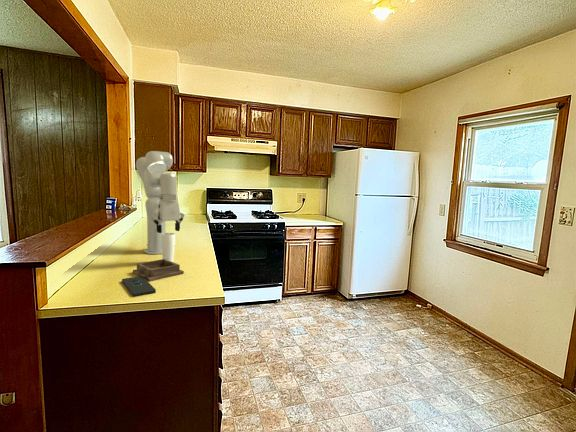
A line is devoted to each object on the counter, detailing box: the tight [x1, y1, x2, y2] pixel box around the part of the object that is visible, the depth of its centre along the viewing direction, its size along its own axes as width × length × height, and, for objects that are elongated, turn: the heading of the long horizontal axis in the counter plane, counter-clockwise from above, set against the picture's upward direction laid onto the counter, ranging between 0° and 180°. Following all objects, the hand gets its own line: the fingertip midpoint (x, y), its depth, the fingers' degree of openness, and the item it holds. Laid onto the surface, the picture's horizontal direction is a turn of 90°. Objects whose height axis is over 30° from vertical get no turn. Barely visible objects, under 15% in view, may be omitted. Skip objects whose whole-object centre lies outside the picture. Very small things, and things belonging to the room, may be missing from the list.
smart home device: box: [121, 275, 157, 298], centre depth 123 cm, size 8×2×20 cm
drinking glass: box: [161, 232, 176, 263], centre depth 157 cm, size 7×7×15 cm
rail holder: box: [132, 258, 185, 282], centre depth 141 cm, size 16×16×4 cm
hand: (168, 231), depth 156 cm, fingers open, 9 cm apart
